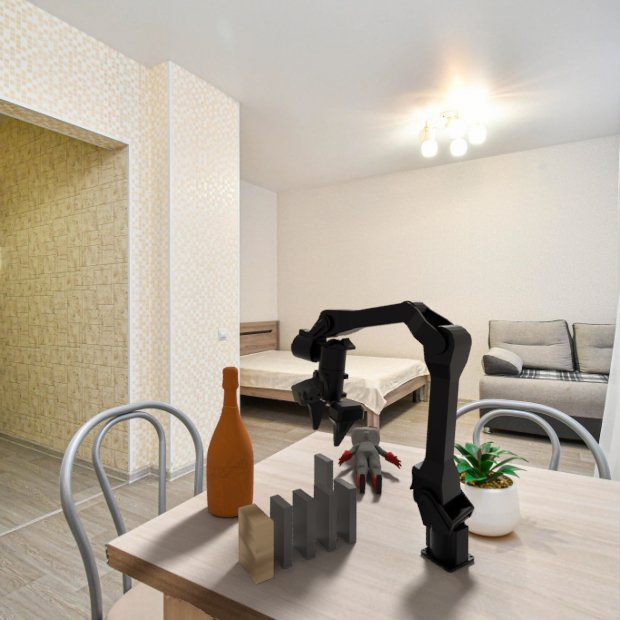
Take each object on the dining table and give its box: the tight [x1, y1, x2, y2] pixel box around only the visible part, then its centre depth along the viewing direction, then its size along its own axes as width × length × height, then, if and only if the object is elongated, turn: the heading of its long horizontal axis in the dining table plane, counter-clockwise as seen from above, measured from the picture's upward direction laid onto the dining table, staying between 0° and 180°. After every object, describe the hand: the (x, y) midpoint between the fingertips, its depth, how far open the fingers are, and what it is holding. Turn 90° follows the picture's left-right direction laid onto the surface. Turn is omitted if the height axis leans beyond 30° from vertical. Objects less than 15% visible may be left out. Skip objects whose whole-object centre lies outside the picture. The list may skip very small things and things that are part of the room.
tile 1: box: [313, 452, 334, 491], centre depth 92 cm, size 5×2×10 cm, turn 32°
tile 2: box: [333, 477, 358, 545], centre depth 79 cm, size 5×2×10 cm, turn 32°
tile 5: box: [269, 494, 293, 570], centre depth 72 cm, size 5×2×10 cm, turn 32°
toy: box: [337, 425, 402, 495], centre depth 112 cm, size 16×10×30 cm
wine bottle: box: [205, 366, 255, 518], centre depth 90 cm, size 10×10×30 cm
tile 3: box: [313, 483, 338, 553], centre depth 77 cm, size 5×2×10 cm, turn 32°
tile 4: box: [291, 488, 316, 561], centre depth 74 cm, size 5×2×10 cm, turn 32°
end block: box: [237, 502, 275, 585], centre depth 69 cm, size 7×3×9 cm, turn 32°
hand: (325, 437), depth 92 cm, fingers open, 9 cm apart
